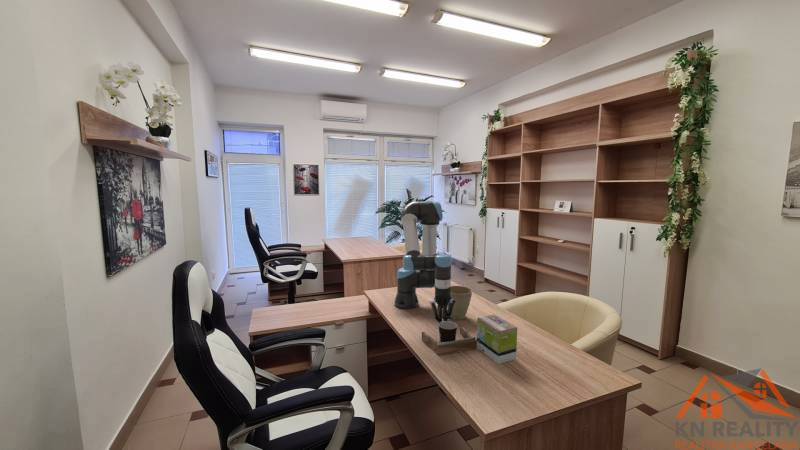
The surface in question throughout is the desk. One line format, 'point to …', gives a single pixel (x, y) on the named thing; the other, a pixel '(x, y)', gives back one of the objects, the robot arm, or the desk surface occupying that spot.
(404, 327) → the desk surface
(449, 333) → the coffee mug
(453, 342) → the organizer
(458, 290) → the plant pot
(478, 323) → the tea box
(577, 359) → the desk surface
